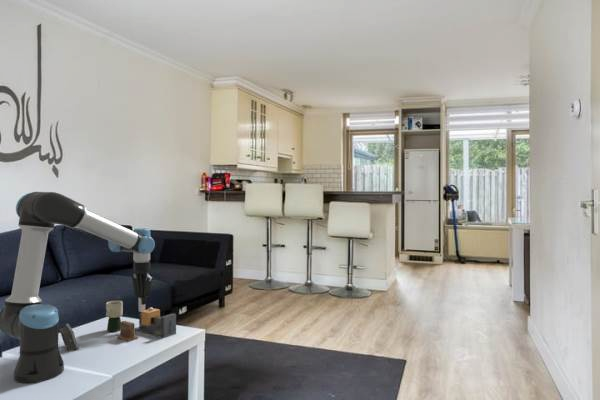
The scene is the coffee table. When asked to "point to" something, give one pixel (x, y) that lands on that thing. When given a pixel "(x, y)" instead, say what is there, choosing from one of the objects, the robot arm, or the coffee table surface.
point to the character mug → (114, 314)
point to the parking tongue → (127, 331)
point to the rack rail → (159, 326)
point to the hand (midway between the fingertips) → (141, 310)
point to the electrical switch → (69, 337)
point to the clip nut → (149, 315)
